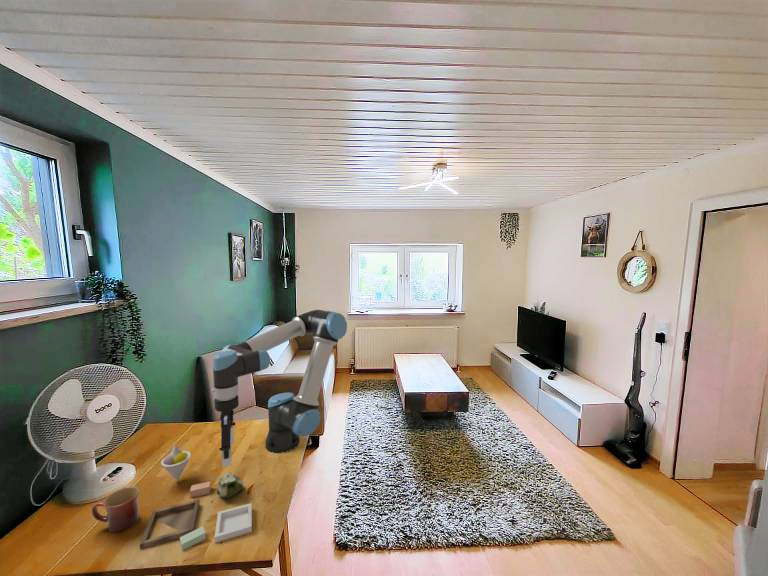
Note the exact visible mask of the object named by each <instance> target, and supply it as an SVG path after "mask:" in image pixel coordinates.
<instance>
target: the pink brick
mask: <svg viewBox="0 0 768 576" xmlns="http://www.w3.org/2000/svg"><path fill="white" fill-rule="evenodd" d="M211 484H212V482H211V481H206V482H201V483H197V484H196V483H195V484H193V485H191V486H190V490H189V497H190V499H191V498H195V497H201V496H205V495H210V493H211V489H212V485H211Z"/></svg>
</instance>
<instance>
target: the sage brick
mask: <svg viewBox="0 0 768 576" xmlns="http://www.w3.org/2000/svg"><path fill="white" fill-rule="evenodd" d="M206 537H207V535H206V531H205V528H204V525H203V526H201V527H198V528H196V529H194V531H192V532H190V533H188V534H186V535H184V536H182V537H180V538H179V543H180V547H181V548H180V549H181V551H184V550H185V549H188V548H190V547H192V546H193V545H196V544H198V543H200V542H202V541H204V540H206Z"/></svg>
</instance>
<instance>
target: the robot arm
mask: <svg viewBox="0 0 768 576" xmlns="http://www.w3.org/2000/svg"><path fill="white" fill-rule="evenodd" d="M347 331H348V323H347V320H346V318H345V316H344V315H343V314H341V313H340V312H337V311H329V310H322V309H313V310H310V311H307V312H304V313H301V314H298V315H297V316H294V317H293V318H292V320H291V321H289V322H287V323H284V324H282V325H279V326H277V327H275V328H273V329H270V330H268V331H266V332H264V333H261V334H259V335H257V336H254V337H253V338H252V337H251V338H250V339H248V340H245V341H244V342H243V341H242V342H241V343H238V344H227V345H226V346H224V347H223V348H222V349H221V352H217V353H216V354H214V355H213V357H212V358H213V359H212V373H213V374H212V376H213V388H212V389H211V392H213V393H214V394H213V396H214V400H213V402H214V410H215V411H216V412H218V413H219V412H220V416H219V419H220V428H221V431H220V432H221V435H220V436H221V440H220V441H221V443H220V444H221V445H220V446H221V447H219V448H218V449H219V451H221V464H222V465H221V466H222V468H223V469H224V468H227V467H232V465H233V464H232V446H231V445H235V437H234V436H235V435H234V432H235V431H234V426H236V422H235V421H234V412H235V411H234V409H236V408H238V406H239V404H240V403H239V378H240V377H244V376H246V375H251V374H254V373H258V372H261V371H263V370H265V369H268V368H269V366H270V364H271V358H270V354H269V352H268V351H270V350H272V349H274V348H275V347H278V346H280V345H282V344H284V343H286V342H288V341H290V340H293V339H294V338H296V337H298V336H299V337H304V336H306V335H309V334H311V335H312V334H313V335H312V339H313V341H314V343H313V346H312V349H311V352H310V356H309V359H308V361H307V365H306V368H305V370H304V374H303V378H302V382H301V385H300V388H299V390H298V394H297V395H296V396H295V394H294V393H293V392H282V393H278V394H275V395H272V396H271V397H270V398H269V400H268V402H267V412H268V432H267V435H266V439H265V442H264V443H265V445H264V447H265V450H266V449H267V450H268V451H267V450H266V451H267V452H270V453H272V452H273V453H272V454H282V453H281V452H285V453H287V452H286V451H288V452H290V451H289V450H291V449H293V450H294V449H296V448H297V447H298V446H299V445H298V444H300V442H301V441H300V439H301V438H300V437H308V436H310V435H311V434H313V433H314V432H315V431H316V430H317V429H318V427H319V425H320V423H321V418H322V415H321V412H320V411H319V407H320V403H319V400H318V399H319V395H320V392H321V388H322V385H323V382H324V378H325V375H326V372H327V367H328V365H329V361H330V358H331V354H332V351H333V347H334V346H336V345H337V344H338V342H339V340H340V339H342V338H343V337H345V335H346V333H347ZM295 447H296V448H295ZM291 451H292V450H291Z"/></svg>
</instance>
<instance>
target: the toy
mask: <svg viewBox="0 0 768 576" xmlns="http://www.w3.org/2000/svg"><path fill="white" fill-rule="evenodd" d="M190 458H191V452H190V451H188V450H181V449H180V448H179V447H178V445H177V444H176V443H175V444H174V446H173V448H172V450H171V451H170V453H168V454H167V455H166V456H165V457H163V458H162V460H161V461H160V464H161V466H162V467H163V468H164V470H166V471H167V472H168V474H170V476H171V477H172V478H173V479H174V480H175V481H176V482H179V480H180V477H181V476H182V473H183V472H184V470H185V467H186V466H187V464H188V461H189V459H190Z"/></svg>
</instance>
